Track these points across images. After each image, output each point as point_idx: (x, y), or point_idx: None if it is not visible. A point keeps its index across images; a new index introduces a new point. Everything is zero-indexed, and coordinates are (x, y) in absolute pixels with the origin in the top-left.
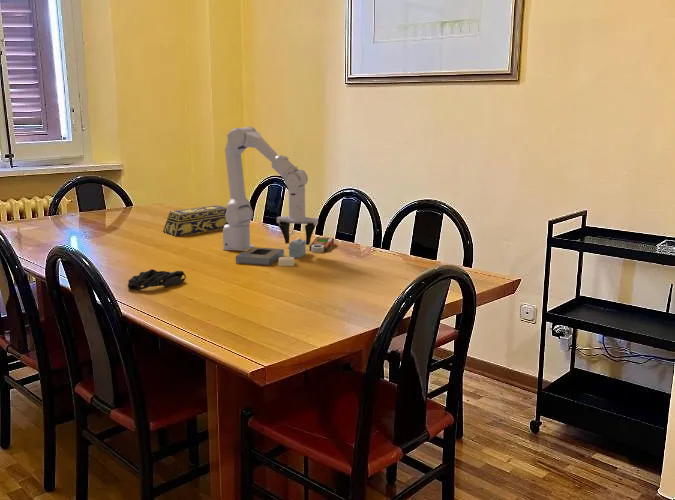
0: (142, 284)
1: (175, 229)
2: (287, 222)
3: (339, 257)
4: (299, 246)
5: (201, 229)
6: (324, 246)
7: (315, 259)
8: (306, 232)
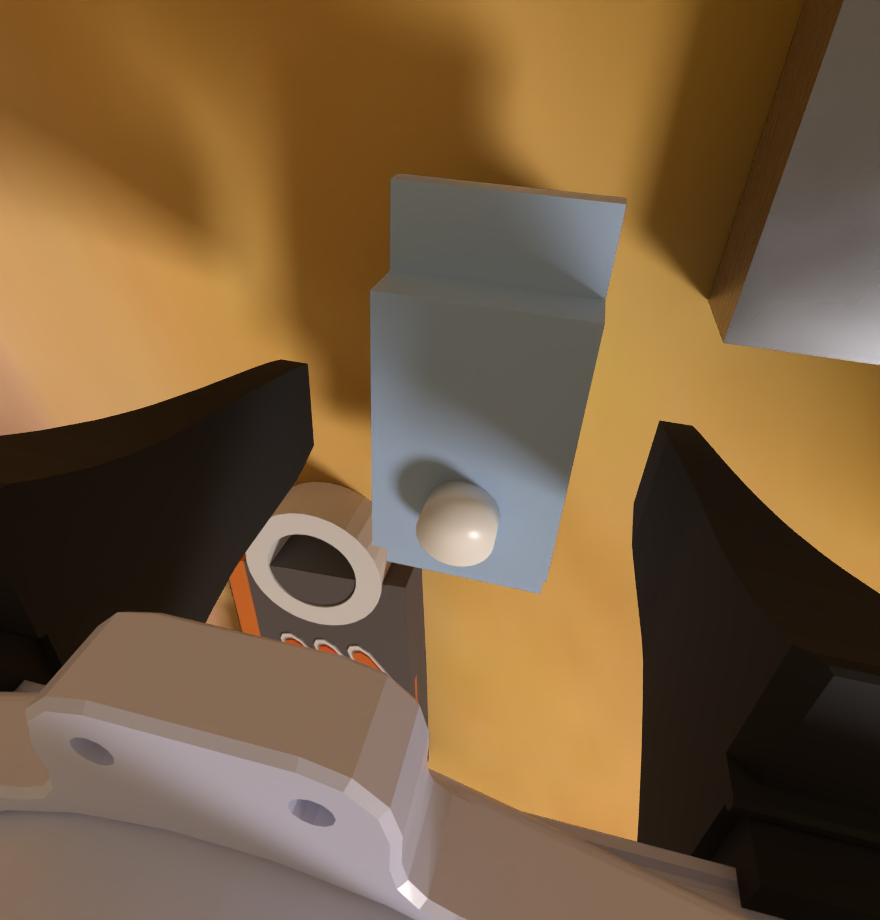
0: None
1: None
2: (692, 877)
3: (19, 308)
4: (398, 274)
5: None
6: (246, 565)
7: (207, 155)
8: (135, 441)
